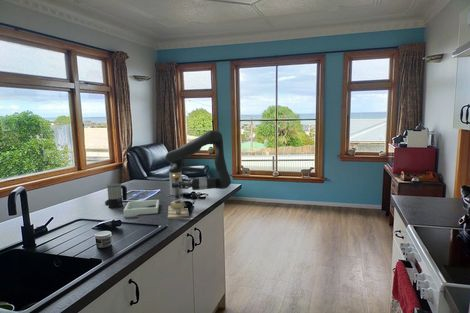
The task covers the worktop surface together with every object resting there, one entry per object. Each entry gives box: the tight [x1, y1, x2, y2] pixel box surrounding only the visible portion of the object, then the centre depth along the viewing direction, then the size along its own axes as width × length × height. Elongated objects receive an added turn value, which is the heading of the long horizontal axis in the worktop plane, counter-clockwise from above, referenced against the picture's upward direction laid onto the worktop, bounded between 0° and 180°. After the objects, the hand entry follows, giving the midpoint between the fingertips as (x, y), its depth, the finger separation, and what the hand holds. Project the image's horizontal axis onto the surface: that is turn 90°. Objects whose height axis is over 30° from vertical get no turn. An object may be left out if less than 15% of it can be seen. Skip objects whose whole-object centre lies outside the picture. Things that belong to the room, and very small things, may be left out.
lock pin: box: [172, 174, 181, 201], centre depth 198 cm, size 5×5×15 cm
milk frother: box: [104, 183, 128, 209], centre depth 210 cm, size 14×16×15 cm
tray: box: [123, 199, 160, 218], centre depth 195 cm, size 19×19×4 cm
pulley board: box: [167, 199, 190, 220], centre depth 191 cm, size 25×12×9 cm, turn 11°
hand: (172, 185), depth 197 cm, fingers closed on lock pin, 3 cm apart
